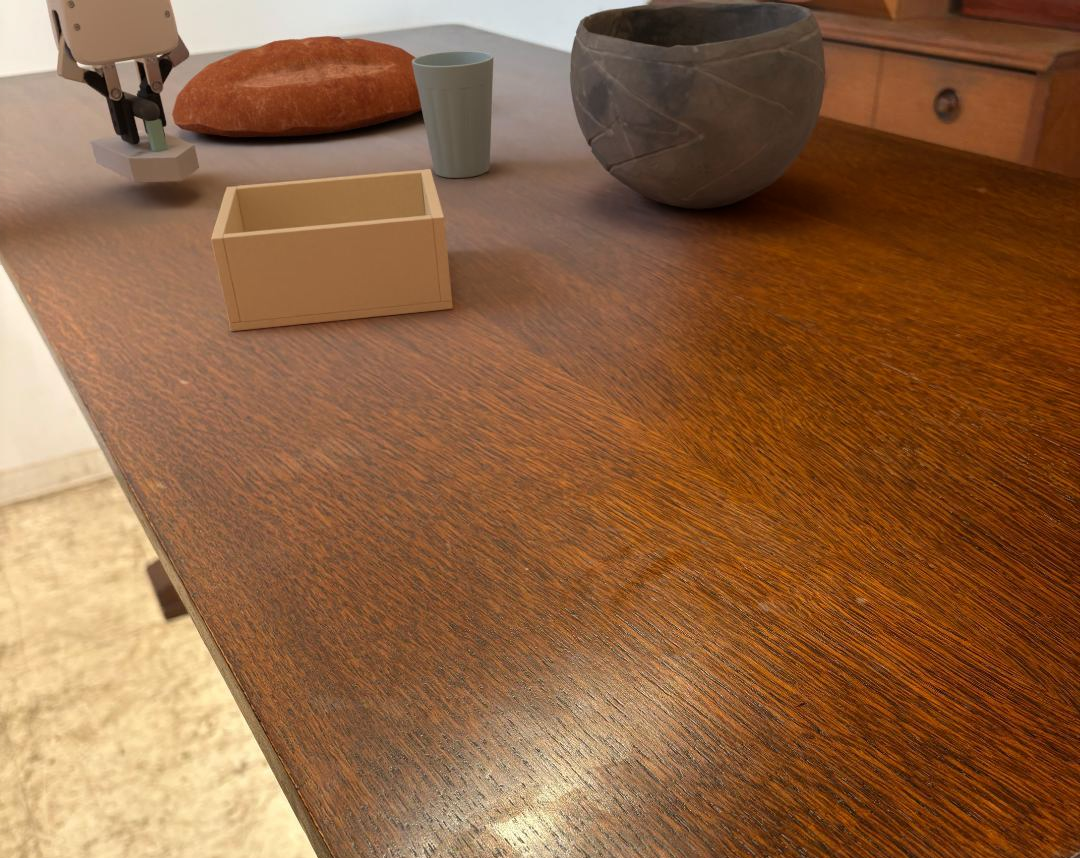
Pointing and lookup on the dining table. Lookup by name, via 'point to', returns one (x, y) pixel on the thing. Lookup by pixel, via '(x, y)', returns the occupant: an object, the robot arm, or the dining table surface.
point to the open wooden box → (331, 249)
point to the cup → (456, 110)
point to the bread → (300, 89)
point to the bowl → (698, 96)
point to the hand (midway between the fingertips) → (143, 137)
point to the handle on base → (147, 150)
